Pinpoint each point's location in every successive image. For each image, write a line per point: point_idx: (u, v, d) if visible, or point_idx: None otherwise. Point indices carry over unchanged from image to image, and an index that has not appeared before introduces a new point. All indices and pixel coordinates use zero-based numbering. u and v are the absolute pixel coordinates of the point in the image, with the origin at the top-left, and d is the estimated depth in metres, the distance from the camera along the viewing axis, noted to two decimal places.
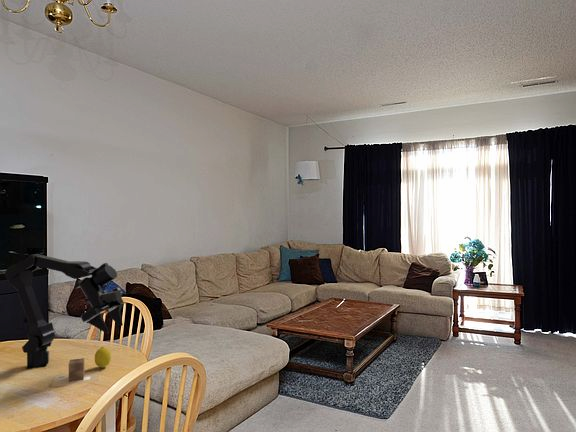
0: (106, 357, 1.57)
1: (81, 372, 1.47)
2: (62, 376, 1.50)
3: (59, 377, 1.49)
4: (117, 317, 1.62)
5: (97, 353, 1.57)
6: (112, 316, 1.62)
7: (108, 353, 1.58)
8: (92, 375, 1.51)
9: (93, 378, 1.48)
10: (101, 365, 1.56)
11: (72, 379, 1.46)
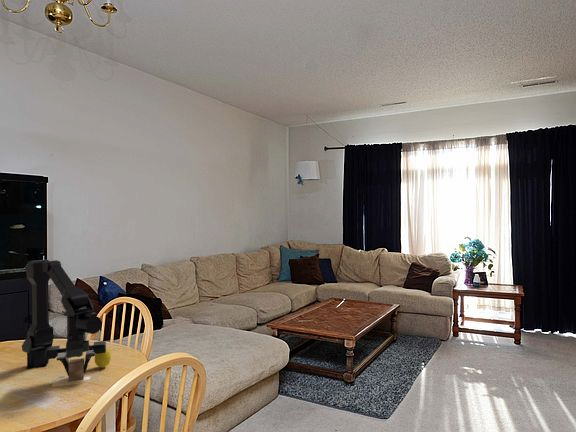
0: (106, 357, 1.57)
1: (81, 372, 1.47)
2: (62, 376, 1.50)
3: (59, 377, 1.49)
4: None
5: None
6: None
7: (108, 353, 1.58)
8: (92, 375, 1.51)
9: (93, 378, 1.48)
10: (101, 365, 1.56)
11: (72, 379, 1.46)
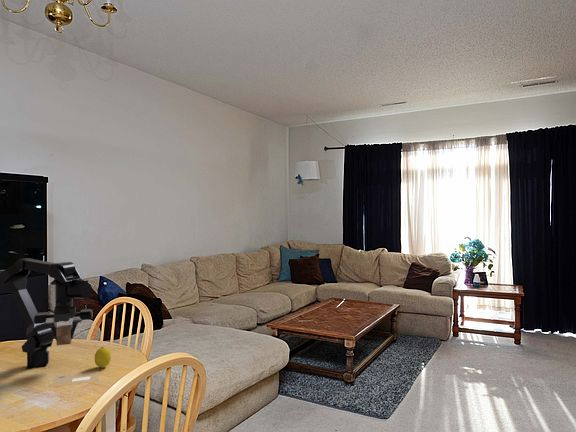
0: (106, 357, 1.57)
1: (68, 337, 1.56)
2: (62, 376, 1.50)
3: (59, 377, 1.49)
4: None
5: (97, 353, 1.57)
6: None
7: (108, 353, 1.58)
8: (92, 375, 1.51)
9: (93, 378, 1.48)
10: (101, 365, 1.56)
11: (60, 343, 1.55)
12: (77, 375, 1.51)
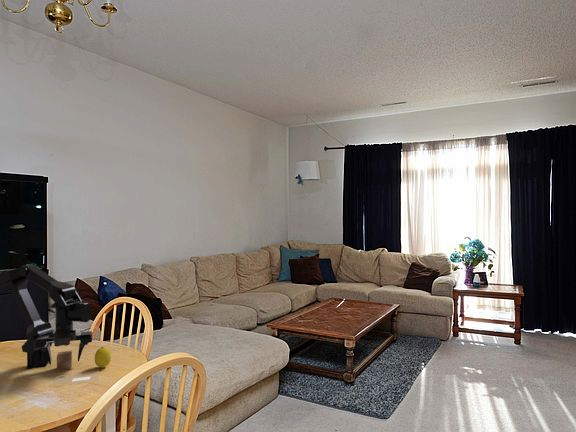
0: (106, 357, 1.57)
1: (69, 363, 1.56)
2: (62, 376, 1.50)
3: (59, 377, 1.49)
4: None
5: (97, 353, 1.57)
6: None
7: (108, 353, 1.58)
8: (92, 375, 1.51)
9: (93, 378, 1.48)
10: (101, 365, 1.56)
11: (60, 370, 1.55)
12: (77, 375, 1.51)
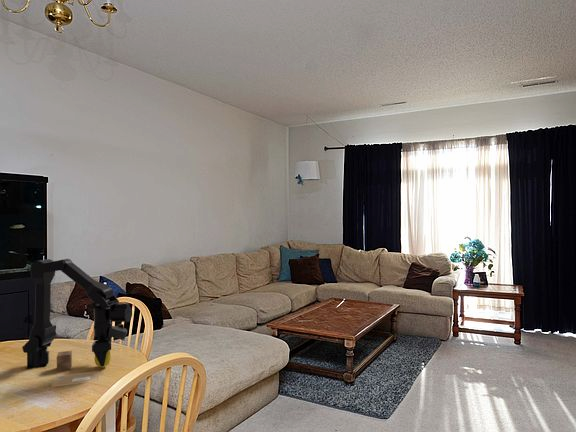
0: (106, 357, 1.57)
1: (69, 364, 1.56)
2: (62, 376, 1.50)
3: (59, 377, 1.49)
4: None
5: None
6: None
7: (108, 353, 1.58)
8: (92, 375, 1.51)
9: (93, 378, 1.48)
10: None
11: (60, 370, 1.55)
12: (77, 375, 1.51)
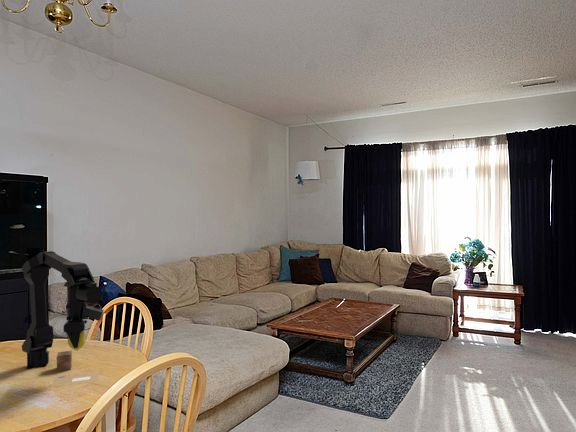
0: (80, 339, 1.47)
1: (69, 363, 1.56)
2: (62, 376, 1.50)
3: (59, 377, 1.49)
4: None
5: None
6: None
7: (82, 334, 1.48)
8: (92, 375, 1.51)
9: (93, 378, 1.48)
10: None
11: (60, 370, 1.55)
12: (77, 375, 1.51)
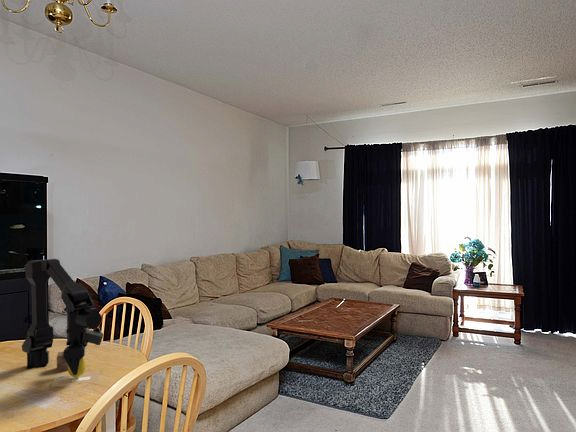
0: (80, 367, 1.47)
1: None
2: (62, 376, 1.50)
3: (59, 377, 1.49)
4: None
5: None
6: None
7: (82, 362, 1.48)
8: (92, 375, 1.51)
9: (93, 378, 1.48)
10: (75, 375, 1.46)
11: (60, 370, 1.55)
12: None
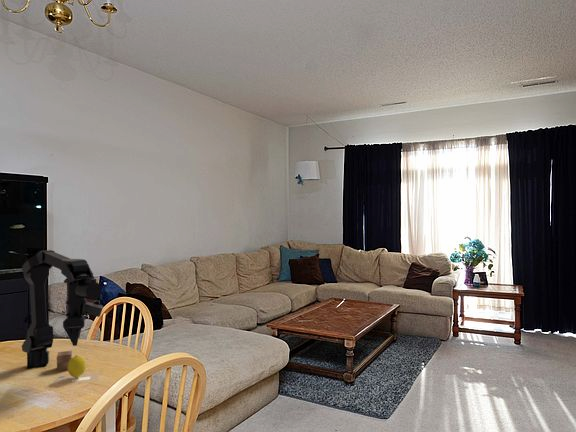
0: (80, 366, 1.47)
1: None
2: (62, 376, 1.50)
3: (59, 377, 1.49)
4: None
5: (70, 362, 1.46)
6: None
7: (82, 362, 1.48)
8: (92, 375, 1.51)
9: (93, 378, 1.48)
10: (75, 375, 1.46)
11: (60, 370, 1.55)
12: None
